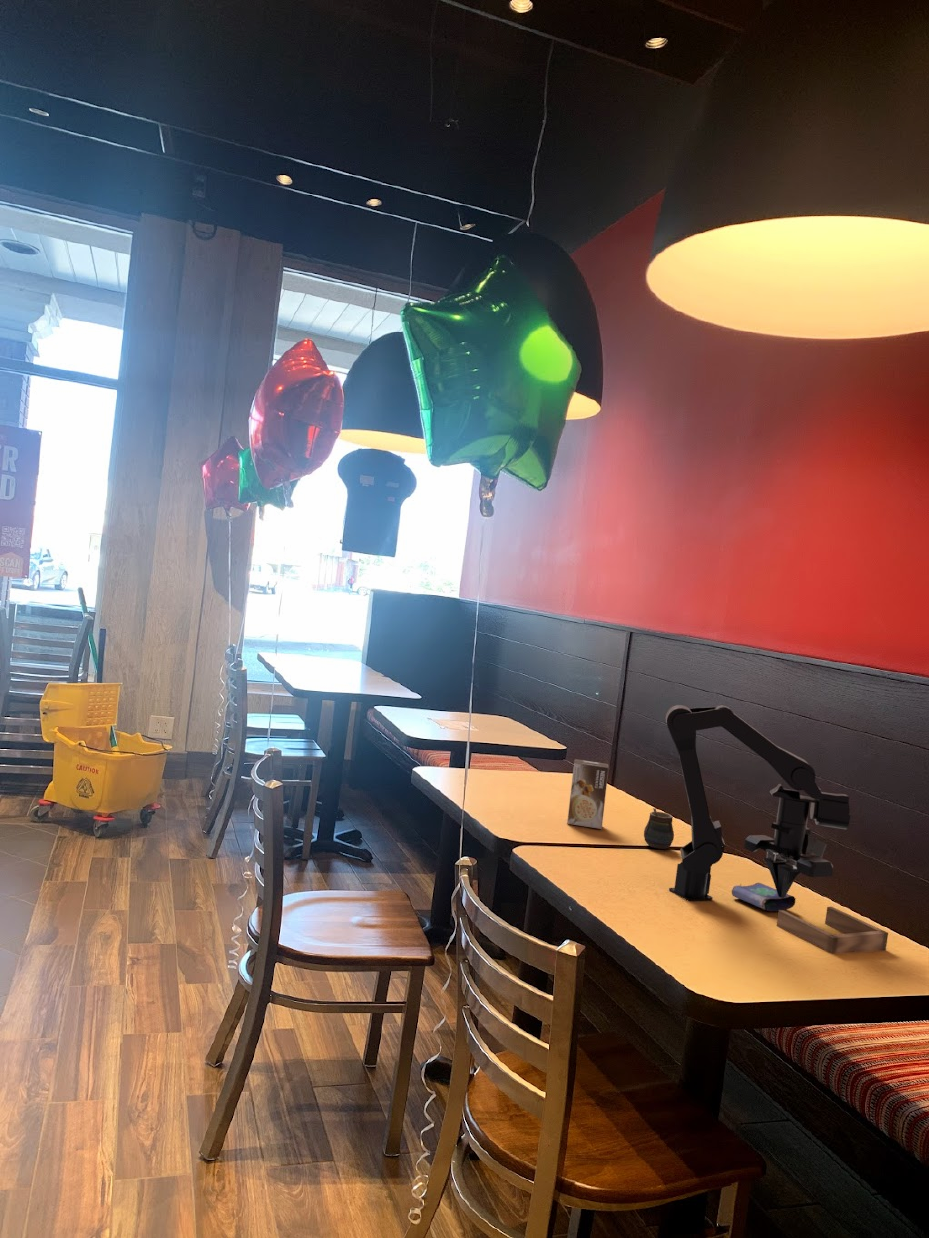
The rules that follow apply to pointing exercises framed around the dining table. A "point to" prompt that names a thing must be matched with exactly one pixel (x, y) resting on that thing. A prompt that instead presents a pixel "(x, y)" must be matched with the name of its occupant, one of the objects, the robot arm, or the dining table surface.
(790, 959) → the dining table surface
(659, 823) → the mate gourd
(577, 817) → the coffee box
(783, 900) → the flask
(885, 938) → the walnut u-shaped fence
